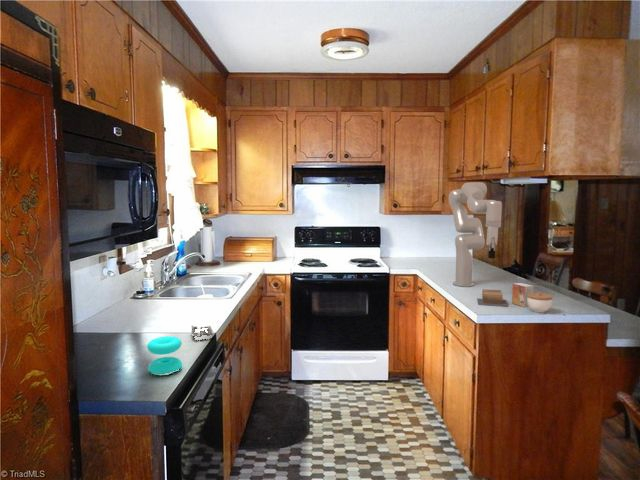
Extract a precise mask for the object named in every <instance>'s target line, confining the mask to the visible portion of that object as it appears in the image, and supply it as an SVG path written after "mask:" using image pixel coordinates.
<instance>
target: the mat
mask: <svg viewBox="0 0 640 480" xmlns="http://www.w3.org/2000/svg"><path fill="white" fill-rule="evenodd" d="M477 305H479V306H488V307H489V306H490V307H491V306H493V307H502V308H503V307H504V308H505V307H507V308H508V307H509V304H508V302H507V300H505V299H503V301H502V304H496V303H483V299H482V298H480V297H479V298H477Z"/></svg>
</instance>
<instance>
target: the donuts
mask: <svg viewBox="0 0 640 480" xmlns="http://www.w3.org/2000/svg"><path fill="white" fill-rule="evenodd" d="M181 346H182V341H181V339H180V338H179V337H176V336H172V335H171V336H169V335H168V336H160V337H156V338H154V339H151V340H150V341H149V342H148V343H147V347H146V348H147V350H148V351H149V352H150V353H152V354H154V355H158V356H159V355H169V354H172V353H175V352H177V351H179V349H180V348H181ZM181 367H183V362H182V361H181V359H179V358H178V357H175V356H163V357H159V358H156V359H154V360H152V361H151V362H150V364H149V365H148V367H147V368H148V369H147V370H148V372H149V371H150V372H151V373H156V374H165V373H170V372H173V371H176V370H178V369H180V368H181ZM181 369H182V368H181ZM181 369H180V370H181ZM150 372H149V373H150ZM151 373H150V374H151Z"/></svg>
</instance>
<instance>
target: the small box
mask: <svg viewBox="0 0 640 480" xmlns="http://www.w3.org/2000/svg"><path fill="white" fill-rule="evenodd" d="M529 293H534V285H531V284H526V283H523V282H517V283H516V282H515V283H512V293H511V296H512V297H511V304H513V305H517V306H520V307H522V308H529V306H528V303H527V294H529Z"/></svg>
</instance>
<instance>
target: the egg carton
mask: <svg viewBox="0 0 640 480" xmlns="http://www.w3.org/2000/svg"><path fill="white" fill-rule="evenodd" d="M202 328H208V329H207V331H208V333H206V332H205V330H204V331H200V336H199V335H198V334H197V333H194V332H195V329H198V327H197V326H194V325H191V335H192V334H193V335H194V337H195V336H197V337H201V336H202V335H207V336H210V335H212V336H213V328H212V326H211V325H209V326H204V327H203V326H200V329H202Z"/></svg>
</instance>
